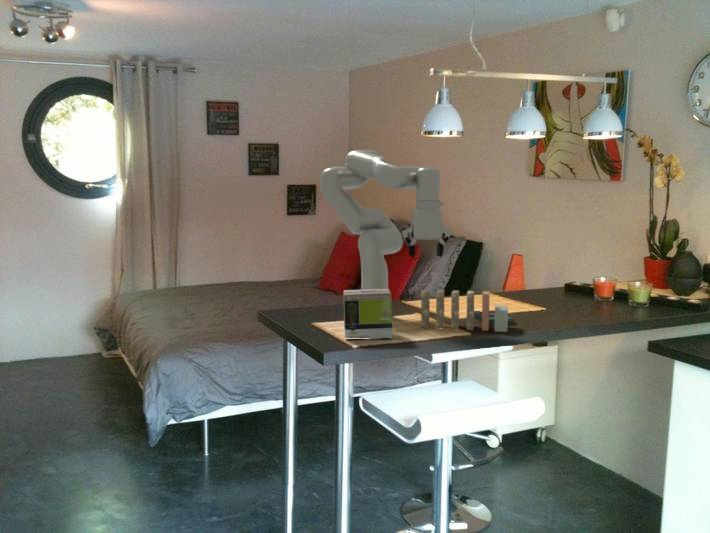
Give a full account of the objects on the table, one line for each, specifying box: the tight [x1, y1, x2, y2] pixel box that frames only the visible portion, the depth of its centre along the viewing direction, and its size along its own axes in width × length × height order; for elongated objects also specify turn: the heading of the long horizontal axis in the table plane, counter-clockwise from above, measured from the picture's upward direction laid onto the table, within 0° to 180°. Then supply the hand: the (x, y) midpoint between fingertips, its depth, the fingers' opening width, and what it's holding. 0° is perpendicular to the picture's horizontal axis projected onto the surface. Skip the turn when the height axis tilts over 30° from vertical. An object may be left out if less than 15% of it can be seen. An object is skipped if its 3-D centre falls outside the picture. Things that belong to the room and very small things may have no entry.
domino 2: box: [435, 289, 445, 328], centre depth 240 cm, size 2×6×12 cm, turn 167°
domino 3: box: [450, 290, 460, 330], centre depth 239 cm, size 2×6×12 cm, turn 167°
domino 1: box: [420, 289, 431, 329], centre depth 241 cm, size 2×6×12 cm, turn 167°
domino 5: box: [481, 290, 490, 331], centre depth 237 cm, size 2×6×12 cm, turn 167°
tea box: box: [342, 288, 394, 340], centre depth 227 cm, size 15×10×15 cm
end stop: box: [493, 305, 509, 333], centre depth 236 cm, size 4×8×7 cm, turn 167°
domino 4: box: [466, 290, 475, 331], centre depth 238 cm, size 2×6×12 cm, turn 167°
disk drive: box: [474, 310, 515, 326], centre depth 249 cm, size 10×3×15 cm
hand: (425, 256), depth 239 cm, fingers open, 9 cm apart
